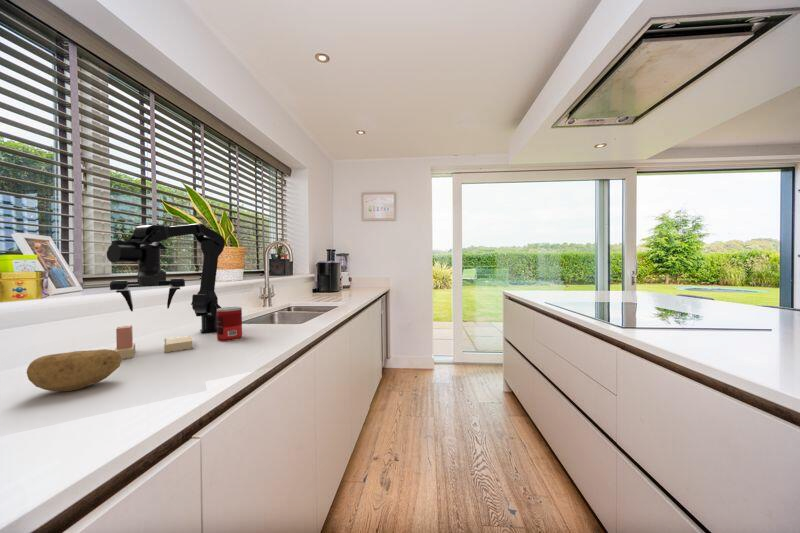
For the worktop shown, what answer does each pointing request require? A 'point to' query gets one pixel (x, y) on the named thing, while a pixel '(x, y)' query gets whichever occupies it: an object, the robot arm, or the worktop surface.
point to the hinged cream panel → (178, 343)
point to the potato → (73, 369)
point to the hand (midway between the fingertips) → (150, 309)
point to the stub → (125, 341)
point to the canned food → (229, 323)
